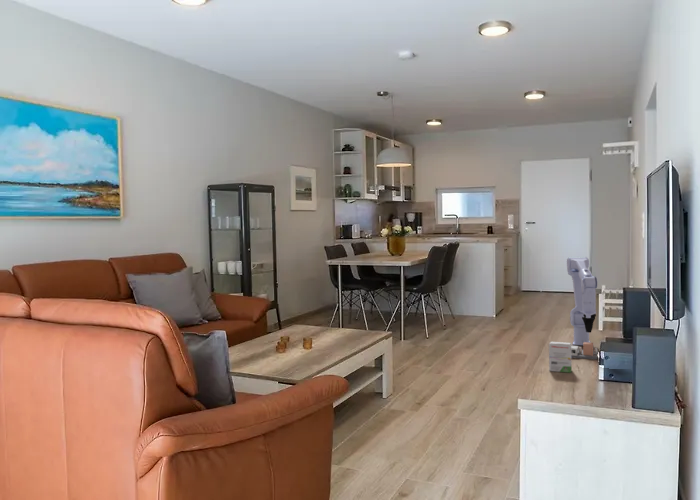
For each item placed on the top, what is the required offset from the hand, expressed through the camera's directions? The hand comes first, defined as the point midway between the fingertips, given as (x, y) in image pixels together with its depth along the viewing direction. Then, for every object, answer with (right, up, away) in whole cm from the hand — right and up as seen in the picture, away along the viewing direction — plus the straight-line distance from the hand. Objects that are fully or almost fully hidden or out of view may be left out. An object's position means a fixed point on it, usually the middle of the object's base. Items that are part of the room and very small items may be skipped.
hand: (589, 330), depth 275 cm
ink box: (-25, -13, -32) cm, 42 cm away
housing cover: (-11, -9, -7) cm, 16 cm away
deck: (-6, -10, -6) cm, 13 cm away
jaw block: (-4, -10, -9) cm, 13 cm away
